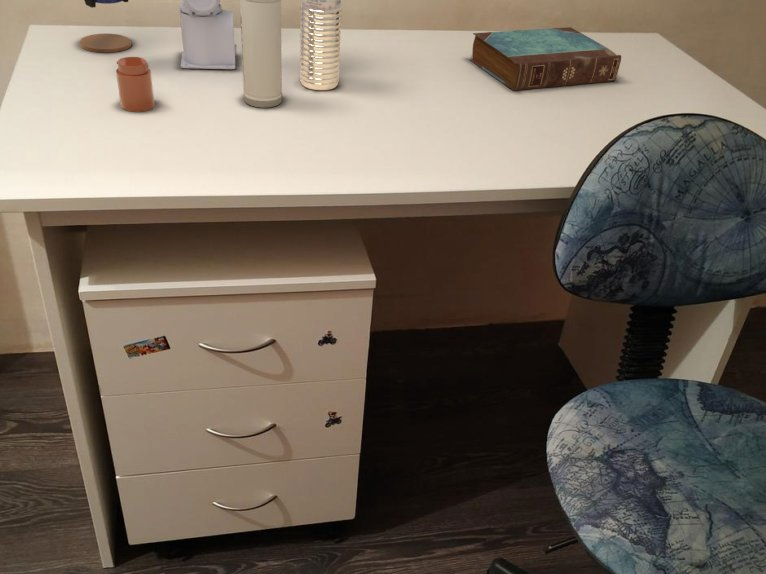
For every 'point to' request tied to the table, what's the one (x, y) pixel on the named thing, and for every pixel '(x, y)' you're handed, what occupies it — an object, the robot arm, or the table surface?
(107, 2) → the lid
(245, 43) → the travel mug
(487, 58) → the book
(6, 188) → the table surface
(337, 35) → the water bottle
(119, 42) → the coaster
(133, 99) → the jar
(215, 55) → the robot arm
